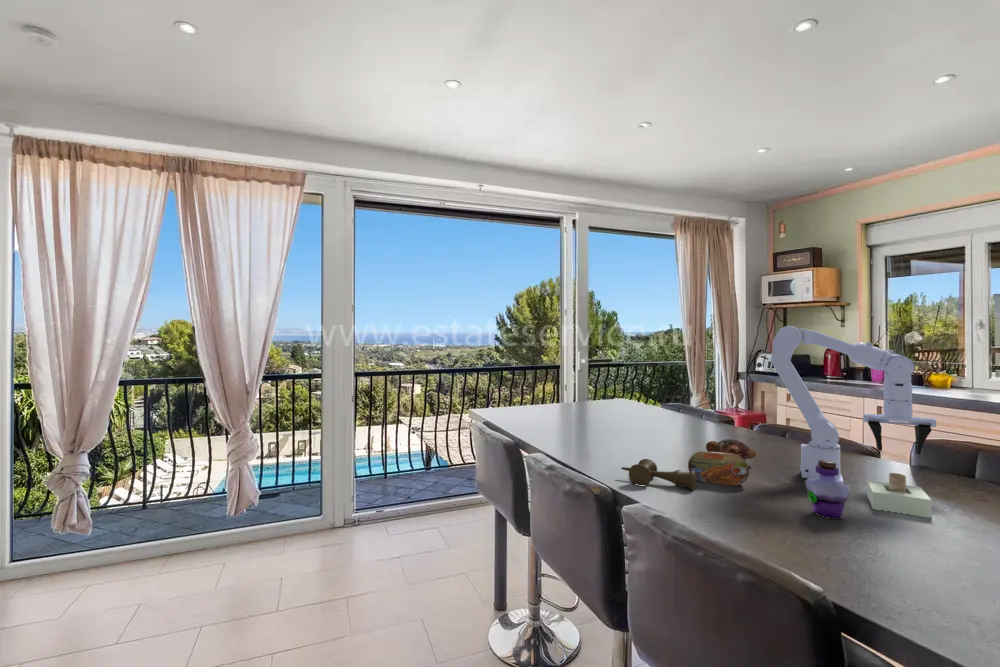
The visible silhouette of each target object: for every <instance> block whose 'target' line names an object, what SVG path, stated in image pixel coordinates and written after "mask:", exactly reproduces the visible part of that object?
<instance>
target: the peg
mask: <svg viewBox="0 0 1000 667" xmlns="http://www.w3.org/2000/svg"><path fill="white" fill-rule="evenodd" d="M888 483H889V491H893V492H900V493H906V485H907V476H906V475H905V474H901V473H895V472H889V473H888Z"/></svg>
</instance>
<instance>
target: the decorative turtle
mask: <svg viewBox="0 0 1000 667" xmlns="http://www.w3.org/2000/svg"><path fill="white" fill-rule="evenodd" d="M705 450H706V451H707V452H719V453H732V454H736V455H738V456H740V457H741V458H743V460H744V461H745V462H746V460H747V459H748V460H749V459H750V460H751V459H754V458H755V457H756V455H757V452H756V450H754V449H752V448H750V446H748V445H746V444H745V443H744V442H742V441H739V440H735V439H722V440H720V441H718V442H717V441H715V440H709V441H708V442H707V443H706V444H705Z"/></svg>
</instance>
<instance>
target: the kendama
mask: <svg viewBox="0 0 1000 667" xmlns="http://www.w3.org/2000/svg"><path fill="white" fill-rule="evenodd" d="M620 469H621V470H623V471H626V472H627V471H628V478H629V481H630V482H631V483H632V484H633V485H634V484H638V485H645V486H644V487H646V486H648V485H649V484H650V483H651V480H652V479H653V478H655V477H656V478H658V479H661V480H665V481H666V482H669V483H672V484H674V485H675V486H676V487H679V486H682V487H686V488H688V489H690V490H691V491H694V489H696V488H697V481H698V480H697V476H696V472H695V471H691V472H689V471H688V472H687V471H686V472H684V471H681V469H676V470H674V471H660V470H659V471H658V466H657V464H656V463H655V461H653V460H652V459H649V458H642V459H640V460H639V461H638V464H637V463H636V464H634V465H631V466H630V467H625V466H624V467H623V466H622V467H621V468H620ZM652 477H653V478H652Z"/></svg>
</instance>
